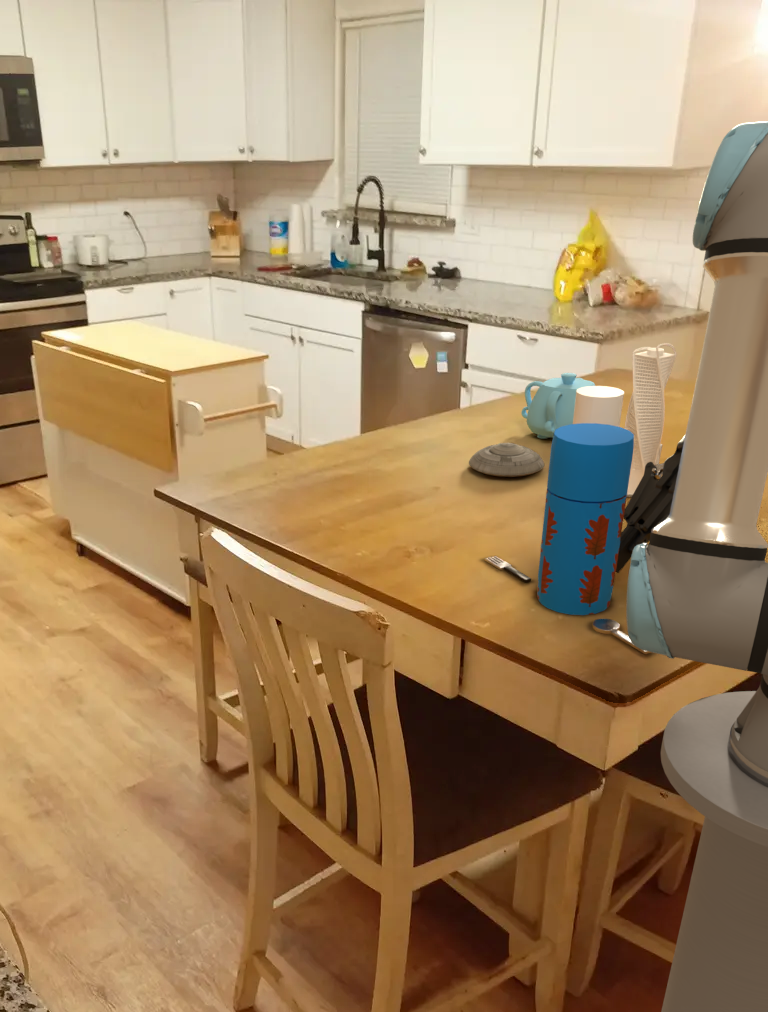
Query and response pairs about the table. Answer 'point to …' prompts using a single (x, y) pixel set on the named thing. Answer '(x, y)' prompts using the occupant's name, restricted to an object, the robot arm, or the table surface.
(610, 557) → the thermos
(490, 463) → the flying saucer
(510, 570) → the fork
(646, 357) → the skyscraper
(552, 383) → the decorative pot
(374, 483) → the table surface
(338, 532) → the table surface
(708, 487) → the robot arm
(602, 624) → the metal disc paddle
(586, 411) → the cylindrical container
